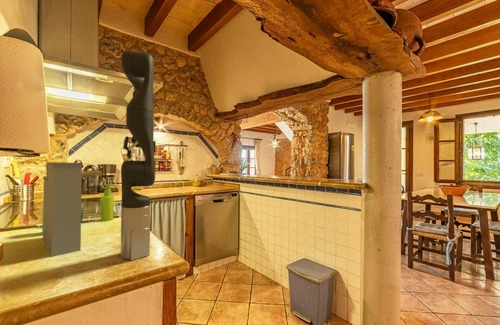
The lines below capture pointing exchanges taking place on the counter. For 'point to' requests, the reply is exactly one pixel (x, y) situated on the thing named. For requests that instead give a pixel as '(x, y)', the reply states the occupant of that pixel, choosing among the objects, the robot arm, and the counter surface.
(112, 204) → the soap dispenser
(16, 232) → the counter surface
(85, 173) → the mallet
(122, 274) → the counter surface
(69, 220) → the tall stepped gray tower
